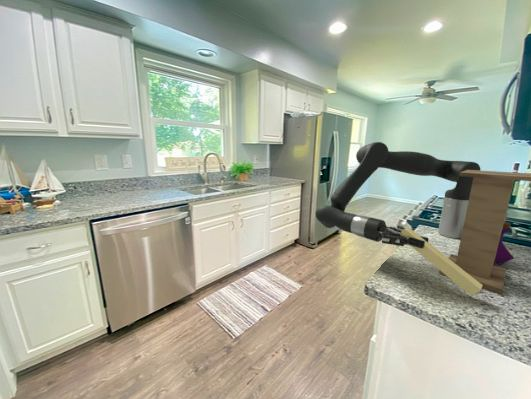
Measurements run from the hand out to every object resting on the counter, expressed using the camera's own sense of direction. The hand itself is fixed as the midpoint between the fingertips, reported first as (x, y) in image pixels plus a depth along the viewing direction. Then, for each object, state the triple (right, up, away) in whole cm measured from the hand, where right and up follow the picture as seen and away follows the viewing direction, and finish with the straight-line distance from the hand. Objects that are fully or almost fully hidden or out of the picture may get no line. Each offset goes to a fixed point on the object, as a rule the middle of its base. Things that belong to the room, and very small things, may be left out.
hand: (425, 243), depth 67 cm
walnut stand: (+19, -11, +6) cm, 22 cm away
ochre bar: (+2, -5, -1) cm, 5 cm away
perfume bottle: (+33, -9, +14) cm, 37 cm away
